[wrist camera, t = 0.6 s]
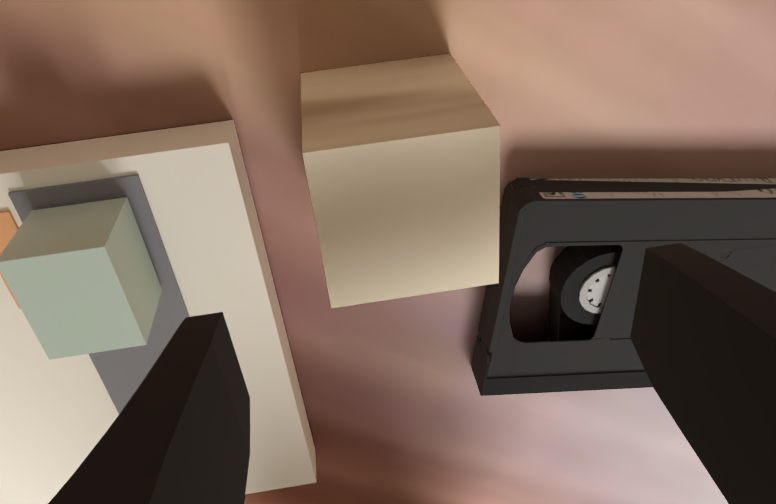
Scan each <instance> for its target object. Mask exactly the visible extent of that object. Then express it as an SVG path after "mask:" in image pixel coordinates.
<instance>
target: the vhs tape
mask: <svg viewBox="0 0 776 504" xmlns="http://www.w3.org/2000/svg"><path fill="white" fill-rule="evenodd" d="M676 243H682V244H684V245H686V246H688V247H691V248H693V249H695V250H697V251H699V252H701V253H703V254H705V255H707V256H709V257H711V258H713V259H714V260H716V261H718V262H720V263H722V264H724V265H726V266H728V267H730V268H731V269H733V270H735V271H737V272H739V273H741V274H743V275H744V276H746V277H748V278H750V279H752V280H754V281H756V282H758V283H759V284H761V285H763V286H765V287H767V288H769V289H771V290H773V291H774V292H776V178H628V179H530V178H517V179H515V180H513V181H512V182H510V183H509V184H508V185H507V187H506V188H505V191H504V196H503V201H502V207H501V213H500V218H499V283H497V284H490V285H487V287H486V292H485V297H484V303H483V308H482V313H481V319H480V324H479V329H478V331H479V334H478V336H477V340H476V345H475V351H474V356H473V361H472V370H473V373H474V376H475V379H476V382H477V385H478V388H479V392H480V395H481V396H484V395H504V394H524V393H543V392H563V391H583V390H603V389H623V388H643V387H653V385H652V383H651V381H650V379H649V377H648V375H647V373H646V371H645V369H644V367H643V365H642V363H641V360H640V358H639V356H638V354H637V352H636V349H635V347H634V345H633V343H632V340H631V338H630V335H631V329H632V323H633V318H634V312H635V306H636V301H637V295H638V289H639V284H640V278H641V272H642V267H643V261H644V255H645V250H646V248H650V247H656V246H663V245H670V244H676ZM552 246H568V247H566V248H565V249H564V250H563V251H562V252H561V253H560V255H559V256H558V257H557V258H556V259H555V261H554V263H553V265H552V267H551V271H550V276H549V280H550V292H549V309H548V326H547V337H548V340H549V341H536V342H523V341H519V340H517V339H515V338H514V337H513V334H512V330H511V326H510V303H511V299H512V296H513V292H514V288H515V286H516V284H517V282H518V279H519V277H520V275H521V273H522V271H523V269H524V268H525V267H526V265H527V264H528V263H529V261H530V260H531V259H532V257H533V256H534V255H535V254H536V252H537V251H539V250H541V249H543V248H545V247H552ZM561 307H562V309H563V311H564V312H565V313H566V315H567V316H568V317H569V318H571V319H572V320H574V321H576V322H579V323H582V324H595V325H597V327H596V330H595V333H594V336H593V337H592V339H591V338H590V339H588V340H562V341H558V337H559V324H560V311H561Z"/></svg>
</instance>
